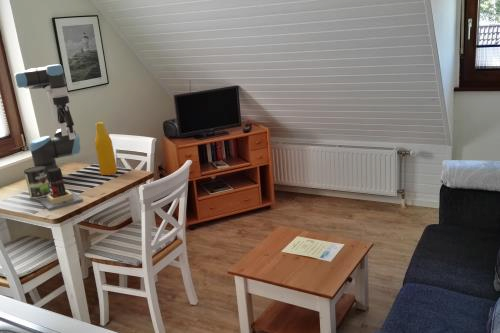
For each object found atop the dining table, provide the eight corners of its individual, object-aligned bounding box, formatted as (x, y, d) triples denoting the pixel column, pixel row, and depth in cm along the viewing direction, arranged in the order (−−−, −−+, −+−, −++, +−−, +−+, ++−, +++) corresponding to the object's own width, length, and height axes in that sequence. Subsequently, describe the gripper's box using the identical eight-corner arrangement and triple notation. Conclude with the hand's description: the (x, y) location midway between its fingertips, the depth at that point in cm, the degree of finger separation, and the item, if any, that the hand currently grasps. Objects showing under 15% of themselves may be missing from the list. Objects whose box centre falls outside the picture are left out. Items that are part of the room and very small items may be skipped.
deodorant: (69, 198, 251) (62, 168, 247) (57, 202, 247) (51, 172, 243) (63, 196, 255) (56, 167, 251) (51, 200, 251) (45, 170, 247)
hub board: (39, 201, 255) (38, 194, 254) (72, 192, 263) (70, 186, 262) (48, 210, 240) (47, 203, 239) (82, 201, 248) (81, 193, 247)
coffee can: (55, 192, 266) (49, 166, 262) (38, 199, 258) (32, 172, 254) (42, 190, 272) (36, 165, 268) (25, 197, 264) (19, 171, 260)
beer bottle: (117, 169, 296) (108, 120, 288) (117, 174, 288) (108, 123, 280) (100, 172, 294) (90, 122, 286) (100, 177, 286) (90, 125, 277)
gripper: (46, 95, 267) (55, 135, 273) (59, 99, 247) (68, 142, 253) (61, 93, 271) (69, 132, 277) (74, 96, 251) (83, 139, 257)
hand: (68, 137), depth 265 cm, fingers open, 13 cm apart
